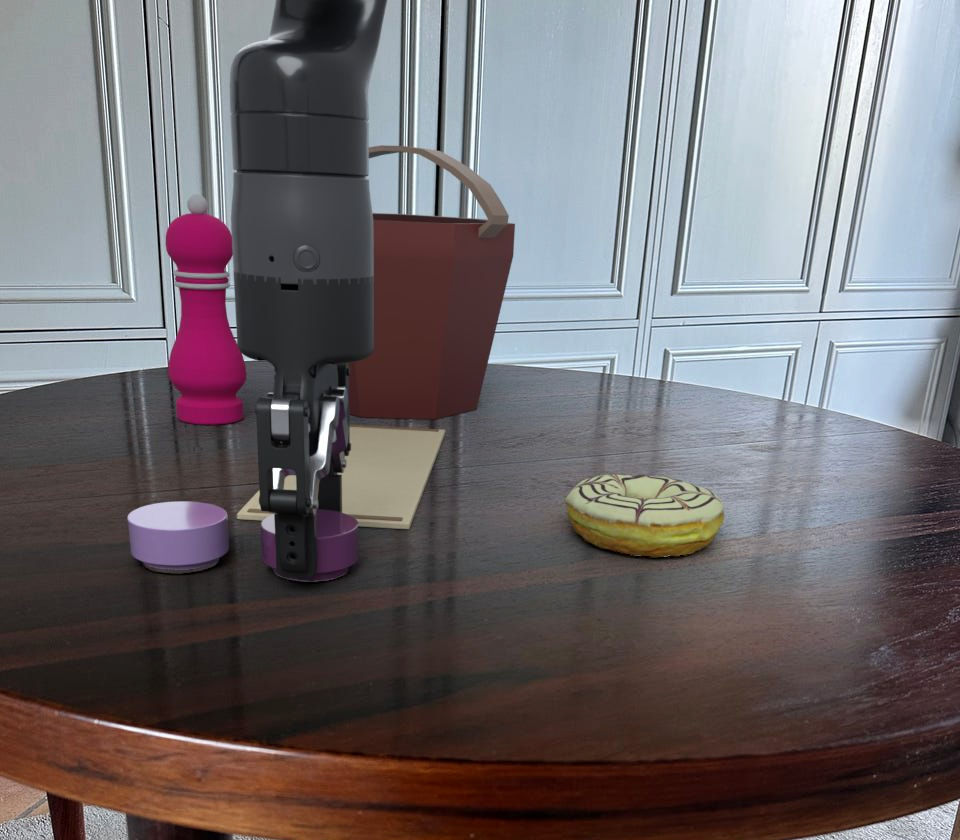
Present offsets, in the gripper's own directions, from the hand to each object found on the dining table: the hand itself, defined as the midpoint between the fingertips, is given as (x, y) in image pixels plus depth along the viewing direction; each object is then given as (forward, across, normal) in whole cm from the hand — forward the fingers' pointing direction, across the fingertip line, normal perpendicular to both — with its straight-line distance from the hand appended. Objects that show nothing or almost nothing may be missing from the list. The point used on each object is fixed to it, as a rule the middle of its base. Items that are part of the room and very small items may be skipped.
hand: (311, 552), depth 62 cm
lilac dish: (+1, 0, -8) cm, 8 cm away
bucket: (+1, -53, -1) cm, 53 cm away
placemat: (+1, -24, -1) cm, 24 cm away
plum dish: (+1, 0, 0) cm, 1 cm away
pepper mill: (+1, -40, -18) cm, 44 cm away
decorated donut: (+1, -10, +21) cm, 23 cm away
